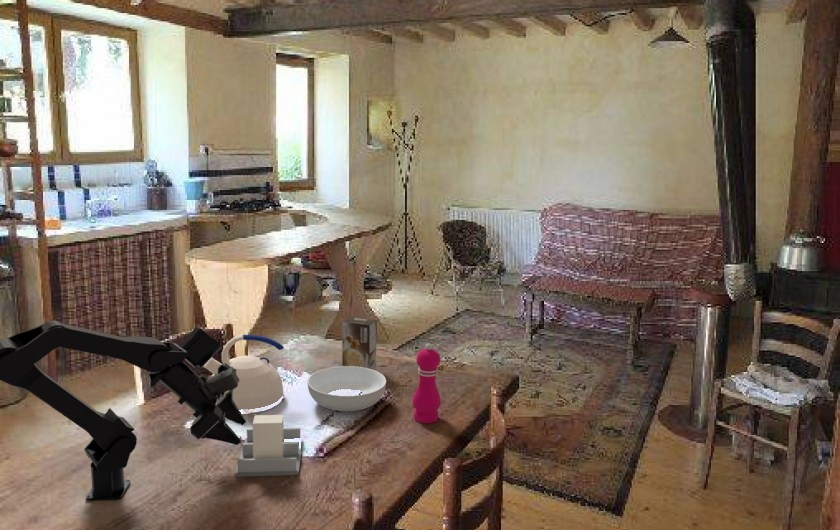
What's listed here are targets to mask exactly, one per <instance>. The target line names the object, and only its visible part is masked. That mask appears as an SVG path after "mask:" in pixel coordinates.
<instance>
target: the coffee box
mask: <svg viewBox="0 0 840 530" xmlns="http://www.w3.org/2000/svg"><path fill="white" fill-rule="evenodd" d="M377 323H378V320H377V319H370V318H363V317H354V316H349V317H347V318H346V319H344V320H343V321H342V329H341V330H342V336H341V337H342V341H341V342H342V343H341V344H342V348H341V349H342V354H341V356H342V358H341V359H342V364H341V366H356V367H364V368H368V369H372V370H375V371H377Z"/></svg>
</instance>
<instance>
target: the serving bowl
mask: <svg viewBox="0 0 840 530" xmlns="http://www.w3.org/2000/svg"><path fill="white" fill-rule="evenodd" d="M306 383H307V389H308V392H309V395H310V396H311V398H312V399H313V400H314V402H316V403H317V404H318V405H320V406H322V407H323V408H326V409H329V410H331V409H333V411H337V410H338V411H337V412H339V411H340V412H355V411H354V410H356V411H360V409H361V410H364V408H365V409H368V408H370V407H372V406H373V405H375V404H376V403H378V402H379V400H380V399H381V398H382V397H383V395H384V393H385V391H386V386H387V378H386V377H385V376H384V374H383V373H381V372H379V371H378V370H376V371H375V370H372V369H368V368H364V367H356V366H342V365H340V366H332V367H327V368H323V369H320V370H317V371H315V372H313V373H312V374H310V376H308V379H307V382H306ZM339 389H340V390H341V389H351V390H360V391H361V392H363V393H364V394H362V395H354V396H339V395H331V394H328V393H330V392H332V391H336V390H339ZM367 407H368V408H367Z"/></svg>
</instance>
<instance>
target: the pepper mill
mask: <svg viewBox="0 0 840 530" xmlns="http://www.w3.org/2000/svg"><path fill="white" fill-rule="evenodd" d="M416 364H417V365H418V367H417V370H418V371H417V374H418V376H419V379H418V380H419V381H418V382H419V383H418V385H417V389H416V390H415V392H414V393H413V397H412V406H413V408H414V411H413V419H414V420H415V421H416V422H417V423H421V424H433V423H435V422H437V421H438V419H439V409H440V407H441V404H442V401H441V396H440V392H439V390H438V387H437V382H436V378H437V375H438V373H439V372H438V371H439V369H438V366H439V365H440V364H441V356H440V353H439V352H438V351H437V350H436V349H433V345H432V344H431V343H429V342H428V343H426V344H425V347H424V349H421V350H420V351H418V352H417V355H416Z"/></svg>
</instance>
